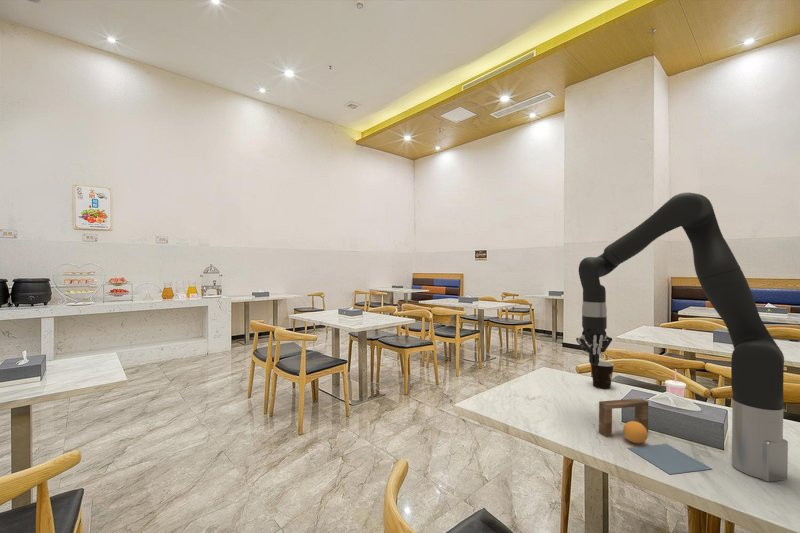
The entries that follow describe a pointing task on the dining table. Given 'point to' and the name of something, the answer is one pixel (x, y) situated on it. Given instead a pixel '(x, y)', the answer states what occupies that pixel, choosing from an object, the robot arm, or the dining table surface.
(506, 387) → the dining table surface
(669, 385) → the beverage cup
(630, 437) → the ball
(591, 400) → the dining table surface
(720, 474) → the dining table surface
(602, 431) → the bridge
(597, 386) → the coffee mug
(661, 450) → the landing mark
